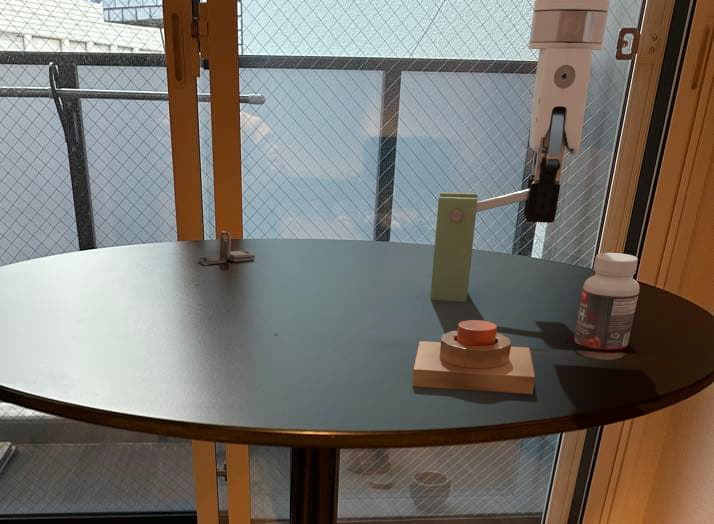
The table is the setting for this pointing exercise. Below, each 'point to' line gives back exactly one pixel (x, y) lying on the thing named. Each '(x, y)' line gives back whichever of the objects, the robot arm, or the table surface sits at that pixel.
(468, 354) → the button block
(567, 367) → the table surface
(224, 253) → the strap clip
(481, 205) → the lever
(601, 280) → the pill bottle
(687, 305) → the table surface
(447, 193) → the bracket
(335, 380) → the table surface
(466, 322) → the button
